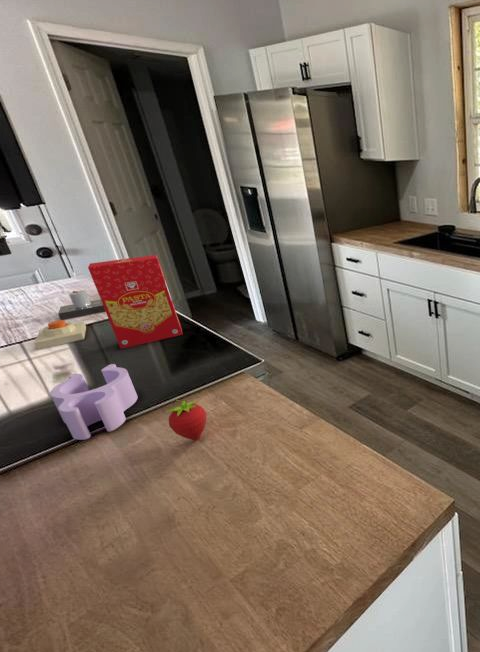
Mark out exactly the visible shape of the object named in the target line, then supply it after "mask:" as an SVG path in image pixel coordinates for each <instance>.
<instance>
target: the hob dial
mask: <svg viewBox="0 0 480 652" xmlns="http://www.w3.org/2000/svg"><path fill="white" fill-rule="evenodd" d="M68 296H69V298H70V300H71V304H73V305H74V307H75V308H81V307H86V306H89V305H91V302H90V301H91V299H90V297H89V295H88V292H87V291H86V290H73V291H72V292H69V293H68Z"/></svg>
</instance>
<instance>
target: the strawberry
mask: <svg viewBox="0 0 480 652" xmlns="http://www.w3.org/2000/svg"><path fill="white" fill-rule="evenodd" d="M176 401H177V402H181V404H180V406H176V407H171V409H168V410H165V411H164V413H170V415H169V416H168V418H167V419H168V426H169V428H170V429H171V430H172V431H173V432H174V433H175V434H176V435H178V436H181V437H182V438H185V439H188V440H191V441H193V442H197V441H199V440H200V438H201V436H202V434H203V432H204V430H205V427H206V424H207V412H206V410H205V409H204V407H203V406H201V405H199V404H196V403H198V402H199V400H196V401H195V400H194V401H191V402H187V401H186V400H184V401H183V400H178V399H176Z"/></svg>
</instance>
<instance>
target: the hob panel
mask: <svg viewBox="0 0 480 652" xmlns="http://www.w3.org/2000/svg"><path fill="white" fill-rule="evenodd" d="M90 302H91V305H89V306H86V307H81V308H75V307H74V305H73V303H71V304H67V305H62V306H60V308H59V310H58V313H57V315H58V317H59V320H64V321H65V320H70V319H75V318H80V317H85V316H90V315H96V314H100V313H106V311H105V309H104V306H103V304H102V301H101V299H95V300H90Z"/></svg>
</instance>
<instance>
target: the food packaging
mask: <svg viewBox="0 0 480 652" xmlns="http://www.w3.org/2000/svg"><path fill="white" fill-rule="evenodd" d="M87 269H88V271H89V274H90V277H91V279H92V282H93V283H94V286H95V289H96V291H97V293H98V296H99V298H100V299H101V301H102V304H103V306H104V309H105V311H106V312H105V314H106V316H107V319H108V321H109V323H110V326H111V328H112V330H113V333H114V336H115V338H116V341H117V343H118V346H119V348H120V349H126V348H131V347H135V346H139V345H144V344H148V343H152V342H156V341H161V340H166V339H170V338H173V337H178V336H181V335H182V336H183V329H182V325H181V323H180V319H179V317H178V314H177V310H176V307H175V305H174V301H173V299H172V296H171V292H170V290H169V287H168V284H167V281H166V278H165V275H164V272H163V269H162V266H161V263H160V261H159V257H158V254H150V255H143V256H137V257H129V258H121V259H116V260H115V259H113V260H107V261H99V262H92V263H91V262H90V263H89V265H88V267H87ZM100 299H99V300H100Z"/></svg>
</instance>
